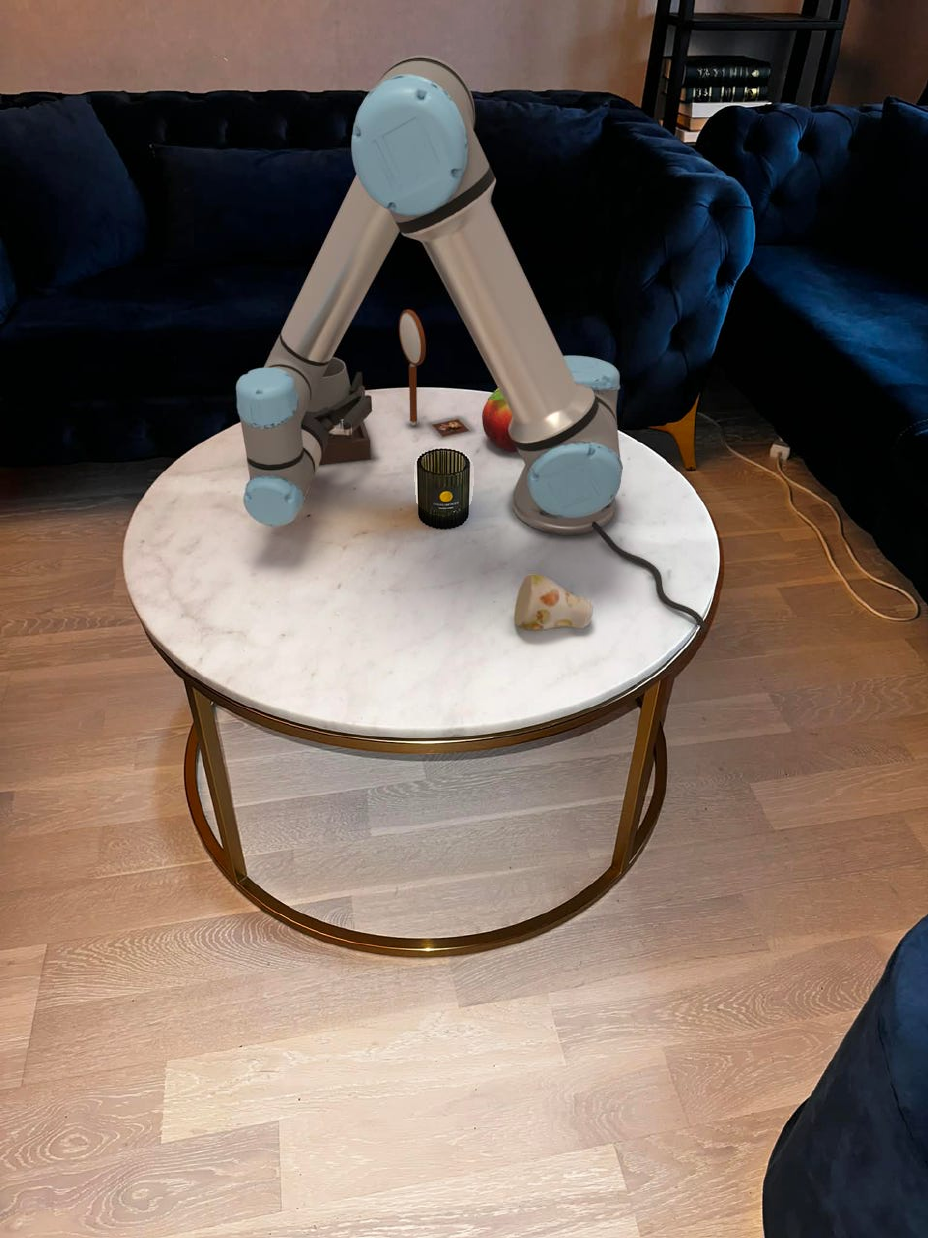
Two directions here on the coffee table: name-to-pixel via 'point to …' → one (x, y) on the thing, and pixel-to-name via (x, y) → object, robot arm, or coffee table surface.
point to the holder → (348, 447)
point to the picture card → (450, 427)
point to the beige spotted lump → (549, 606)
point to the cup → (331, 387)
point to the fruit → (498, 421)
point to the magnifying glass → (412, 353)
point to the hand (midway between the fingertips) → (329, 377)
